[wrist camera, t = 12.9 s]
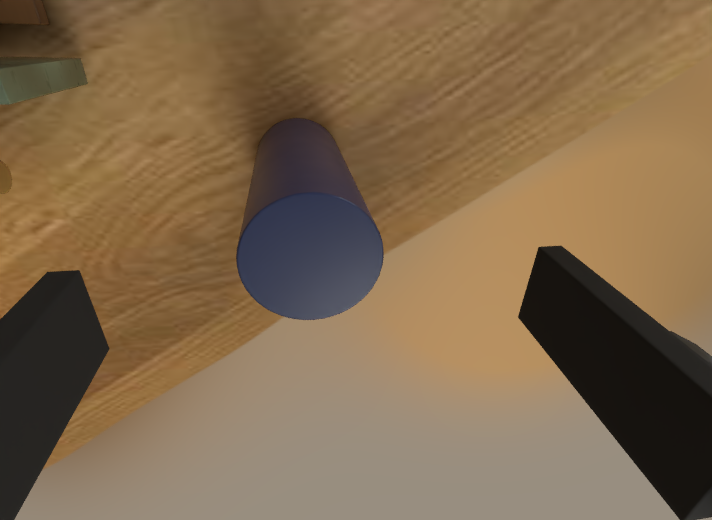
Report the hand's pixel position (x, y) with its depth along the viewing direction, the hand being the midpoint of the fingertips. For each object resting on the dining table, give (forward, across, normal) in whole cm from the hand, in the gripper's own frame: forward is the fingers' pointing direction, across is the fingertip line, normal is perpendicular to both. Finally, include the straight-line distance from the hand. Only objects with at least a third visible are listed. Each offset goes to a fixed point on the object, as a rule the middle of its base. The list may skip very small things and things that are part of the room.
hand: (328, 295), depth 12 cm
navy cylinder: (+15, 0, 0) cm, 15 cm away
